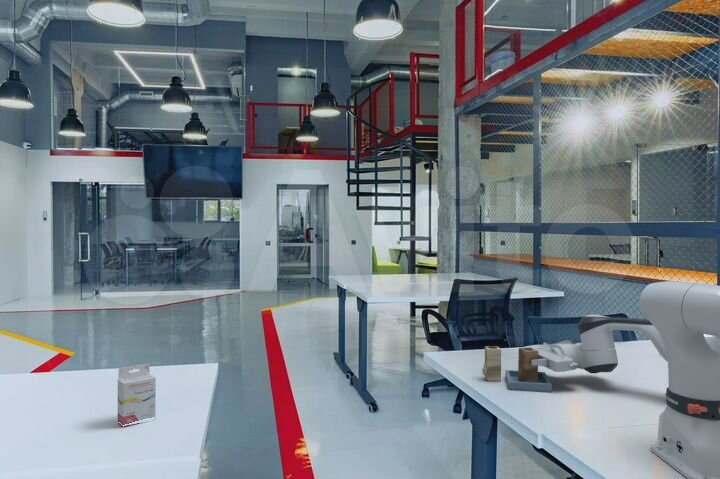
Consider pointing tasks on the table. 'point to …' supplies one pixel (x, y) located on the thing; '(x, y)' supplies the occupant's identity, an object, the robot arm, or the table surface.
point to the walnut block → (527, 365)
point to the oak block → (492, 364)
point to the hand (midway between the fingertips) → (525, 359)
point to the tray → (541, 386)
